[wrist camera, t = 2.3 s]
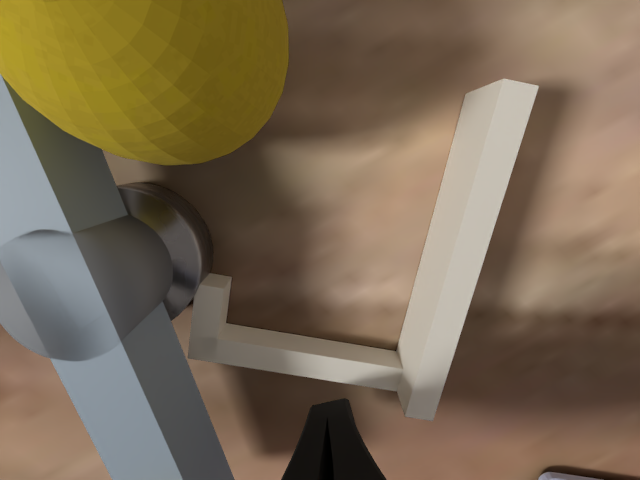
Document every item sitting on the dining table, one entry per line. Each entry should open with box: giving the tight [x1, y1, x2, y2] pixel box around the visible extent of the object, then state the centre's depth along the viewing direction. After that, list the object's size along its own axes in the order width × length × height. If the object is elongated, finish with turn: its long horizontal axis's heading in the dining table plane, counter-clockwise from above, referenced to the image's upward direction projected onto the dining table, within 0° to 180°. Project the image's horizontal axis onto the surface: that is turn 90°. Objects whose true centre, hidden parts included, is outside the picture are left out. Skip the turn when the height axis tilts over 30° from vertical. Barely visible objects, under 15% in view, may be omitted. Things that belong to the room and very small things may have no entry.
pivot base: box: [117, 183, 213, 321], centre depth 12 cm, size 5×5×2 cm
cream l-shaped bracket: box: [188, 79, 539, 421], centre depth 12 cm, size 9×11×2 cm
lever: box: [0, 74, 235, 480], centre depth 10 cm, size 4×20×3 cm, turn 15°
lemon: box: [0, 0, 289, 165], centre depth 8 cm, size 6×6×8 cm
